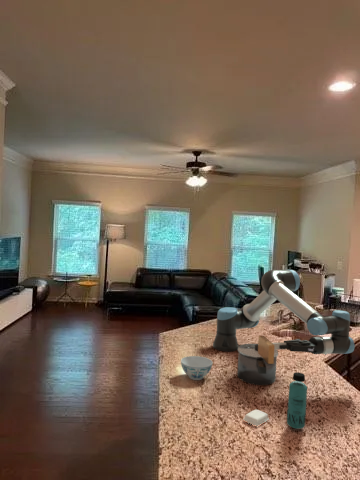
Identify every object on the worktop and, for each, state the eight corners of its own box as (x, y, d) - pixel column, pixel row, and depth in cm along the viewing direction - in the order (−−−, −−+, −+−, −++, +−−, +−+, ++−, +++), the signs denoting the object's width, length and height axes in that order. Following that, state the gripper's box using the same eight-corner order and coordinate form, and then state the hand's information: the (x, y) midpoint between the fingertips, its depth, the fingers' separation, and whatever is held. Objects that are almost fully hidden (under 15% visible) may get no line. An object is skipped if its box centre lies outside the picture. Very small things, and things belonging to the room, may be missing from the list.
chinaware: (215, 374, 185) (215, 358, 185) (207, 386, 171) (207, 369, 171) (185, 369, 190) (186, 354, 190) (175, 380, 176) (176, 363, 176)
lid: (233, 345, 192) (234, 327, 192) (270, 346, 194) (271, 328, 194) (249, 366, 164) (250, 344, 164) (291, 366, 166) (293, 345, 166)
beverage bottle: (283, 423, 141) (286, 370, 140) (301, 423, 141) (304, 370, 140) (290, 433, 134) (293, 377, 133) (308, 433, 135) (311, 377, 134)
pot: (235, 366, 198) (236, 343, 198) (271, 368, 197) (272, 345, 196) (240, 392, 166) (241, 365, 166) (282, 395, 165) (284, 368, 164)
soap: (254, 414, 148) (255, 406, 148) (270, 420, 143) (270, 413, 143) (241, 421, 141) (241, 414, 141) (257, 429, 137) (257, 421, 136)
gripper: (328, 358, 167) (277, 359, 163) (312, 349, 180) (265, 349, 176) (328, 341, 167) (278, 342, 163) (313, 333, 180) (266, 333, 175)
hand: (271, 346), depth 169 cm, fingers closed
